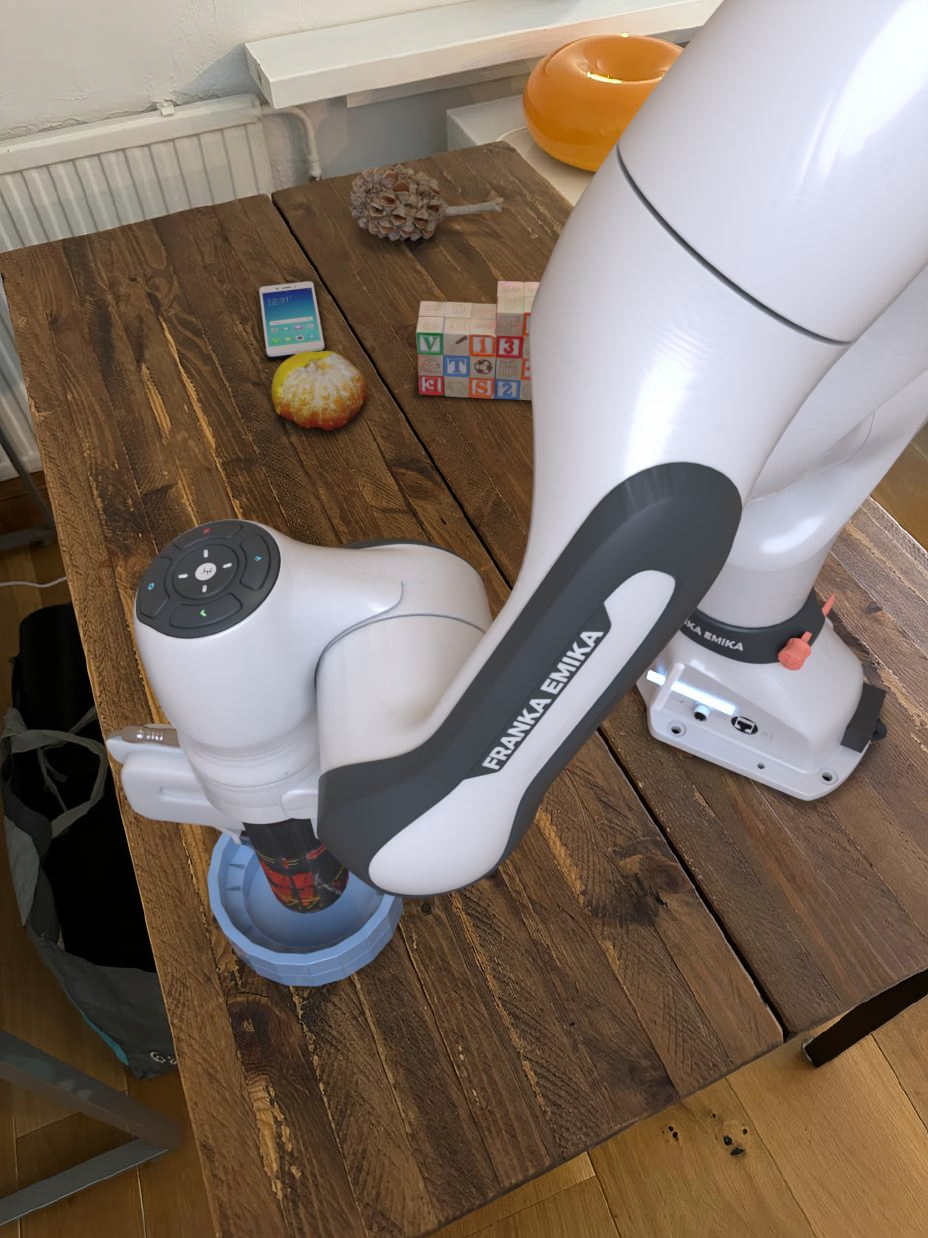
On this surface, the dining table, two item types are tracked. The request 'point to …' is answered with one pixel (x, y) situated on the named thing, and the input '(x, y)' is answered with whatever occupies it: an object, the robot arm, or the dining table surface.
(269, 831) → the deodorant
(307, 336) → the smartphone
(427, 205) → the pine cone
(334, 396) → the fruit
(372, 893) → the bowl
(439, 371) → the stack of blocks
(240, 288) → the dining table surface
